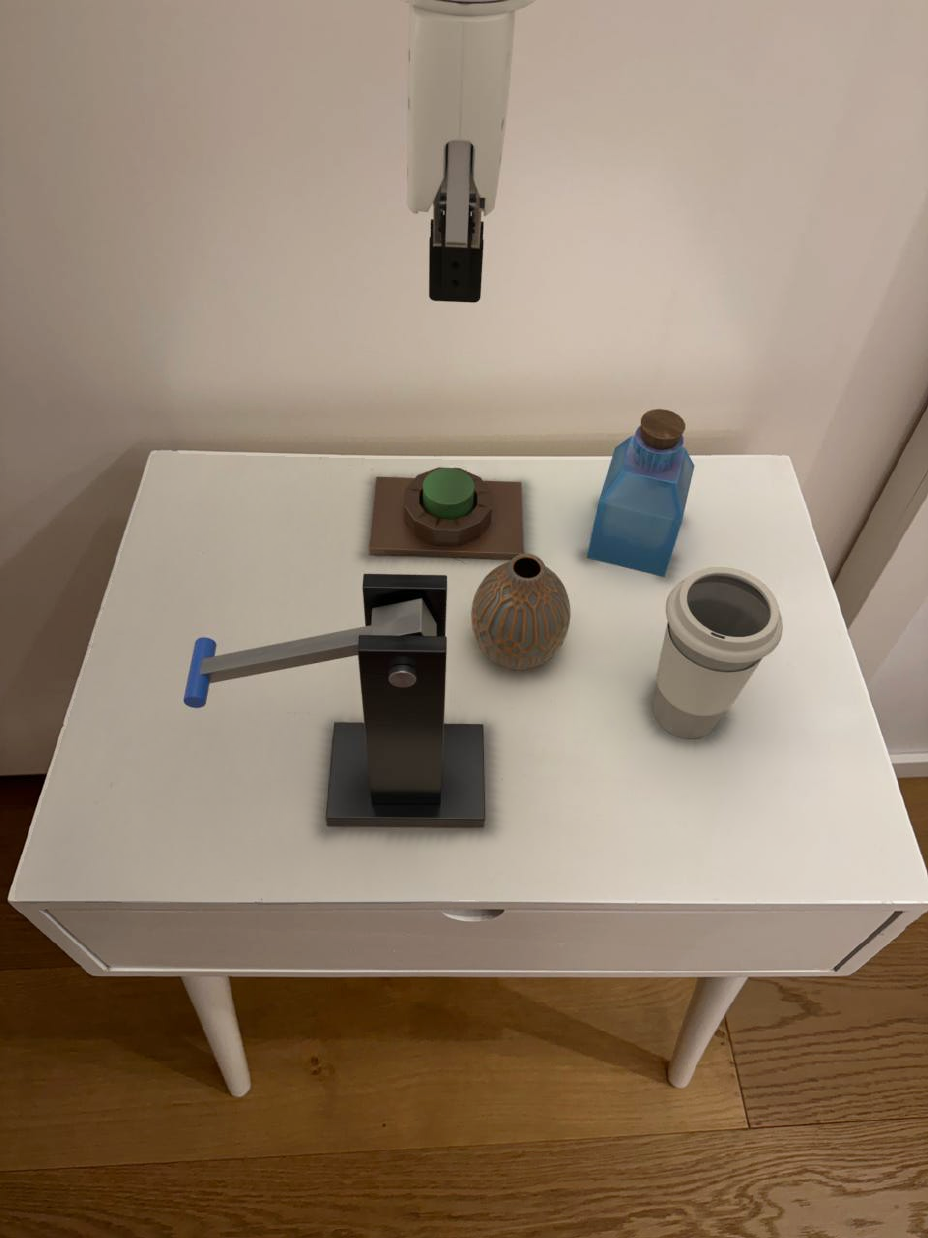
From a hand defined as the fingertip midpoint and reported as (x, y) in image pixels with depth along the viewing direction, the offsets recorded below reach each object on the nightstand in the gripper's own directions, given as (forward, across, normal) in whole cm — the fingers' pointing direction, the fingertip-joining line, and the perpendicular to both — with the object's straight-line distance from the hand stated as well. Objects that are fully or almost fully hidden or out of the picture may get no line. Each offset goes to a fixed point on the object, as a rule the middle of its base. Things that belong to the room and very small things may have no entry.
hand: (455, 288), depth 60 cm
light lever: (+8, +23, -7) cm, 26 cm away
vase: (+21, +12, +5) cm, 25 cm away
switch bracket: (+21, +23, -2) cm, 32 cm away
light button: (+19, 0, 0) cm, 19 cm away
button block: (+21, 0, 0) cm, 21 cm away
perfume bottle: (+21, +1, +15) cm, 26 cm away
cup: (+21, +17, +17) cm, 32 cm away
